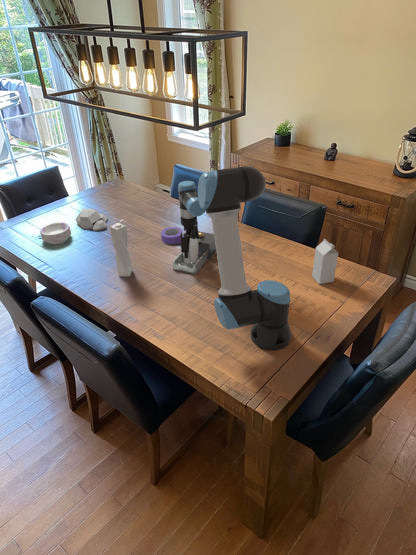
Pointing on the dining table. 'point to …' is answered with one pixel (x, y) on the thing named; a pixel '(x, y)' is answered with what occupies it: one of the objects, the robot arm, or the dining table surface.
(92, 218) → the rock
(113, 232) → the skyscraper
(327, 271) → the white milk carton
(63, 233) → the paper bowls
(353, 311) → the dining table surface
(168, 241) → the tape roll
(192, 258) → the white cup
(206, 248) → the grey cabinet
